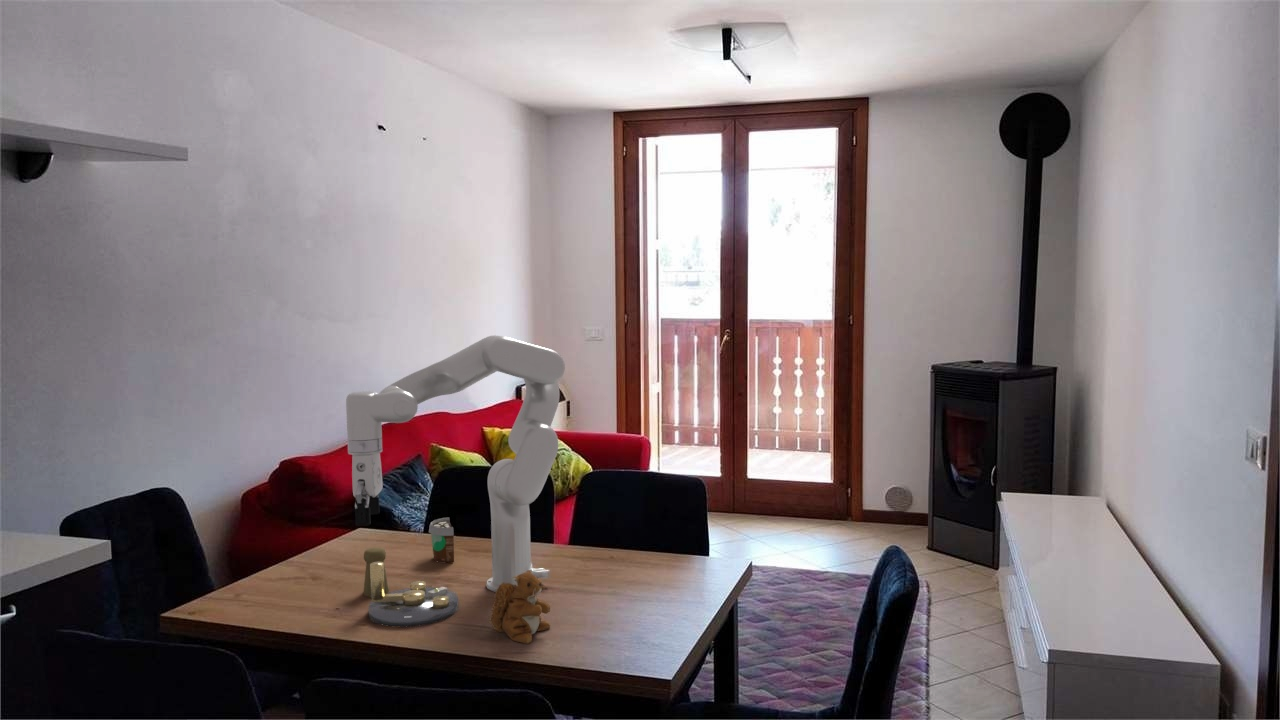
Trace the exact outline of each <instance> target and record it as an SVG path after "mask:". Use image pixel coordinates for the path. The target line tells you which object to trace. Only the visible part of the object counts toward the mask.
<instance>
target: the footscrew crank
mask: <svg viewBox="0 0 1280 720" xmlns="http://www.w3.org/2000/svg"><path fill="white" fill-rule="evenodd" d="M384 566H385V562H384V563H383V562H373V563H371V564H370V578H371V597H370V598H371V600H372V601H373V602H390V601H403V604H405V605H418V604H421V603H423V602H425V592H424V591H423V590H410V591H406V592H404V593H395V594H385V586H384Z"/></svg>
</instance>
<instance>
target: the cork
mask: <svg viewBox="0 0 1280 720" xmlns="http://www.w3.org/2000/svg"><path fill="white" fill-rule="evenodd" d="M386 554H387V552H386V550H385V549H384V548H383V547H381V546H380V547H379V546H378V547H377V546H374V547H373V546H372V547H369V548H366V549H365V551H364V553H363V560H364V561H365V575H364V583H363V584H364V585H363V596H365V597H370V598H371V578H370V564H371V563H373V562H383V563H384V564H385V560H386V556H387V555H386ZM384 586H385V594H386V593H389V591H390V589H389V583H388V578H387V574H386V567H385V565H384Z"/></svg>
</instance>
